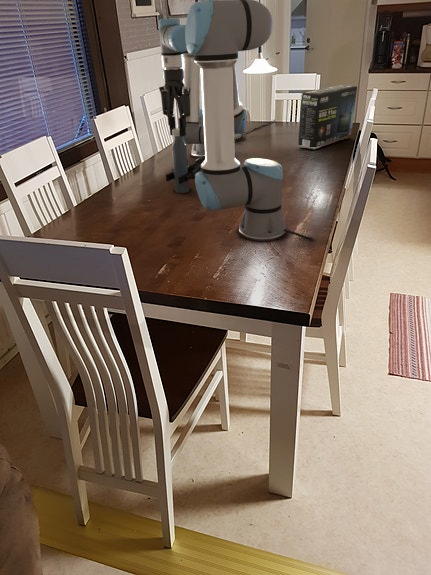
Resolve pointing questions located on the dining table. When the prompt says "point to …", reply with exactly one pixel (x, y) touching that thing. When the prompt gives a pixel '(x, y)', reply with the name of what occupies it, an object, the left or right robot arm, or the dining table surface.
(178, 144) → the bottle
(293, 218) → the dining table surface
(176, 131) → the cap
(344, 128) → the router box
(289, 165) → the dining table surface
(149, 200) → the dining table surface
